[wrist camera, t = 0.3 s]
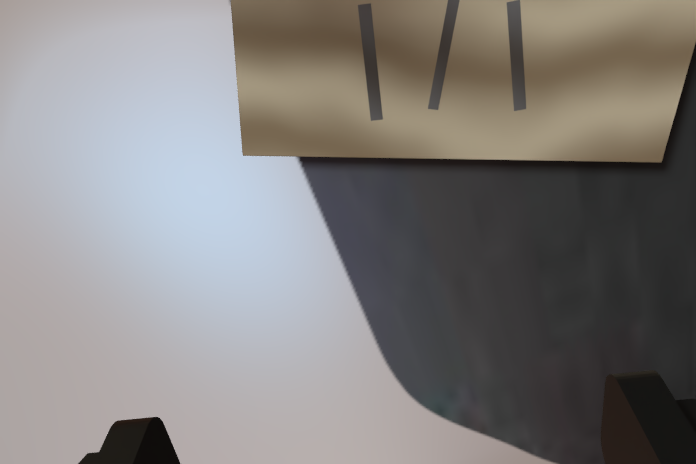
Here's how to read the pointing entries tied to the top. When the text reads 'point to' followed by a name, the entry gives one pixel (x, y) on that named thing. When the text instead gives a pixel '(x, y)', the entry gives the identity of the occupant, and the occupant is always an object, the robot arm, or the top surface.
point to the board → (461, 78)
